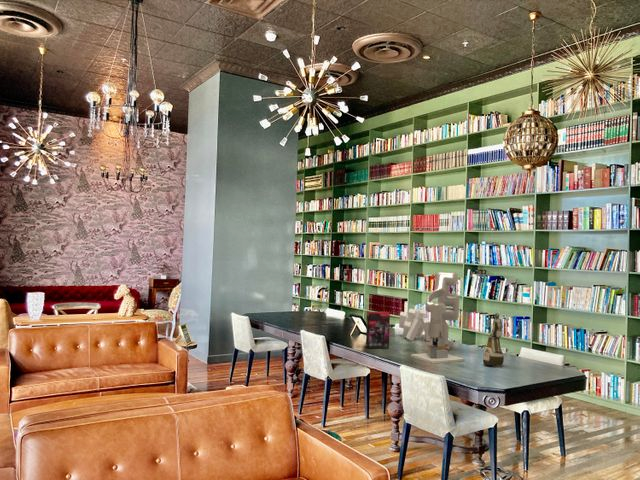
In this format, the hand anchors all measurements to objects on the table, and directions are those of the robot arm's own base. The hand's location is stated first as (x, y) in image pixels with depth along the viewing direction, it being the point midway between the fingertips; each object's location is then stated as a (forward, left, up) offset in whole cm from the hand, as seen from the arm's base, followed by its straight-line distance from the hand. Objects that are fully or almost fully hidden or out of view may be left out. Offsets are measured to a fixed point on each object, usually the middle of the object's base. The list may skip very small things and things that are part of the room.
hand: (434, 347), depth 352 cm
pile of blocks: (-37, -70, -8) cm, 79 cm away
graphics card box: (+19, -43, -8) cm, 48 cm away
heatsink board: (-1, +2, -8) cm, 8 cm away
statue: (-25, +30, -8) cm, 40 cm away
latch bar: (-1, +3, 0) cm, 3 cm away
